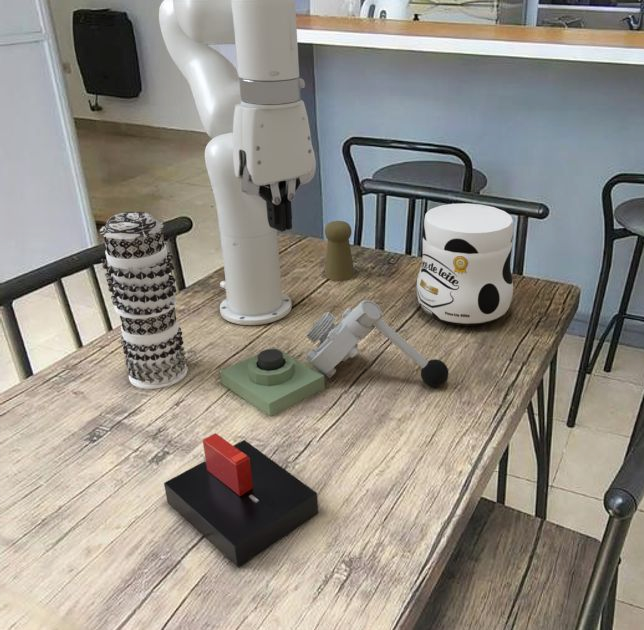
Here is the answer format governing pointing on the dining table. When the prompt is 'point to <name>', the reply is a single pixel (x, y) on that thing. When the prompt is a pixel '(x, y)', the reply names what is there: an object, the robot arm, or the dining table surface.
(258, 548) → the base
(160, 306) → the decorative candle
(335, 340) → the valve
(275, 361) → the stop button
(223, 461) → the tap handle
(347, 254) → the olive brown pawn
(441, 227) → the milk container
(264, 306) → the robot arm
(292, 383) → the button housing
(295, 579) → the dining table surface
